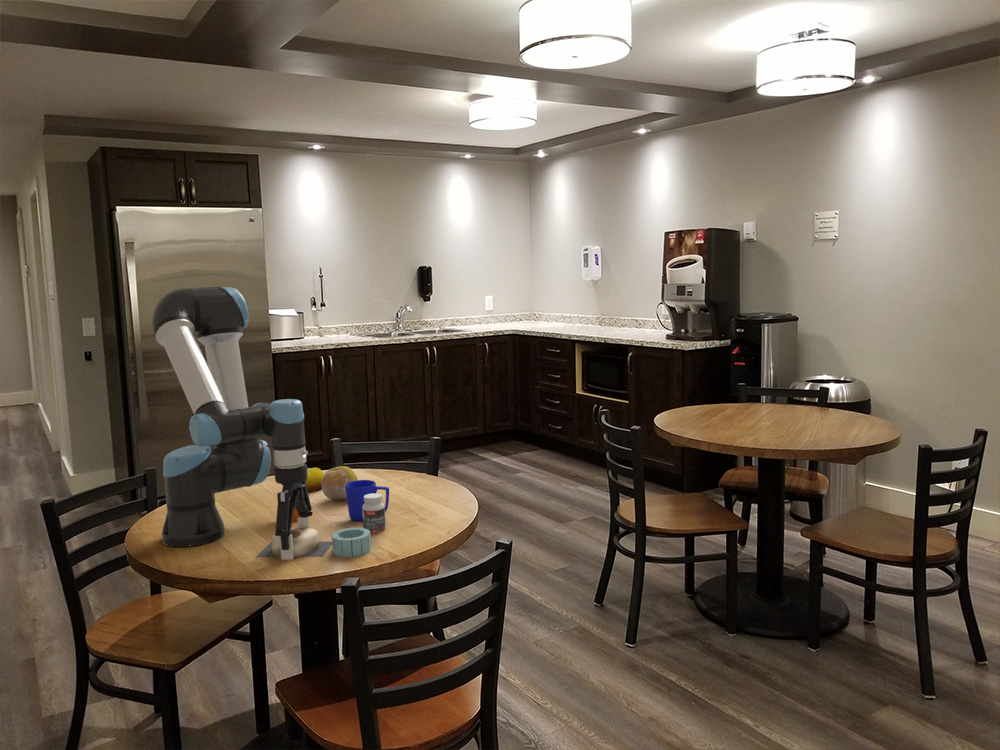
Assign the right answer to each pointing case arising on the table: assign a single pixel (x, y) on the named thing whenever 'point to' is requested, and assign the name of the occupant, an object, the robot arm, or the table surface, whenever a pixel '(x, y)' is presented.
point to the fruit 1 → (314, 479)
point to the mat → (318, 553)
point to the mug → (361, 497)
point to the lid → (299, 542)
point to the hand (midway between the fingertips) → (296, 552)
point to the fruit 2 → (337, 482)
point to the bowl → (351, 542)
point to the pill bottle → (373, 513)
